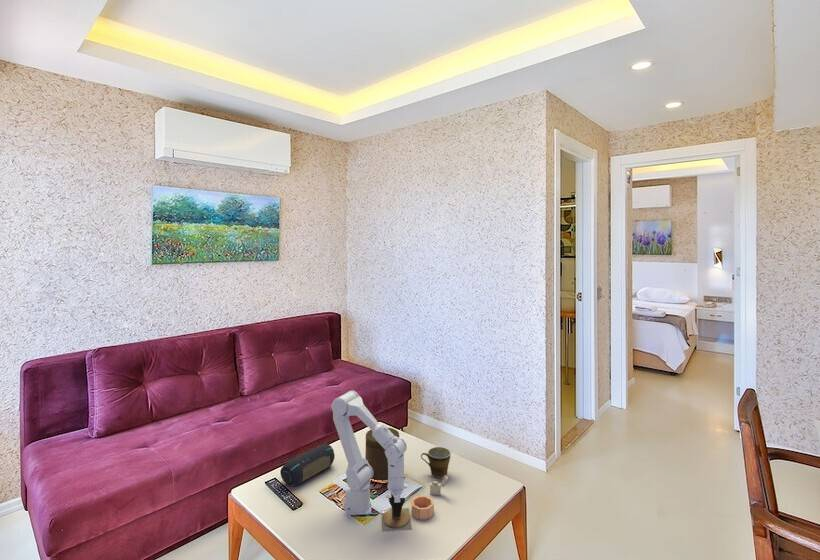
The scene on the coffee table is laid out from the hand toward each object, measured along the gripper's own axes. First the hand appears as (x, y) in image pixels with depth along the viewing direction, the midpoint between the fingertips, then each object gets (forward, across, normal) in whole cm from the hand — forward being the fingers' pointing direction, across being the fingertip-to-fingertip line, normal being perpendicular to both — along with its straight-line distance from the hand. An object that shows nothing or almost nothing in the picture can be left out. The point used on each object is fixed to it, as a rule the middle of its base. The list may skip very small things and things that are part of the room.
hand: (396, 509), depth 152 cm
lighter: (+4, +14, -18) cm, 23 cm away
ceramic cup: (+4, +29, -19) cm, 35 cm away
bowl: (+4, +3, -10) cm, 11 cm away
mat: (+4, 0, 0) cm, 4 cm away
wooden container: (+4, +31, +4) cm, 32 cm away
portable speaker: (+4, +34, +36) cm, 49 cm away
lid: (+4, 0, 0) cm, 4 cm away
